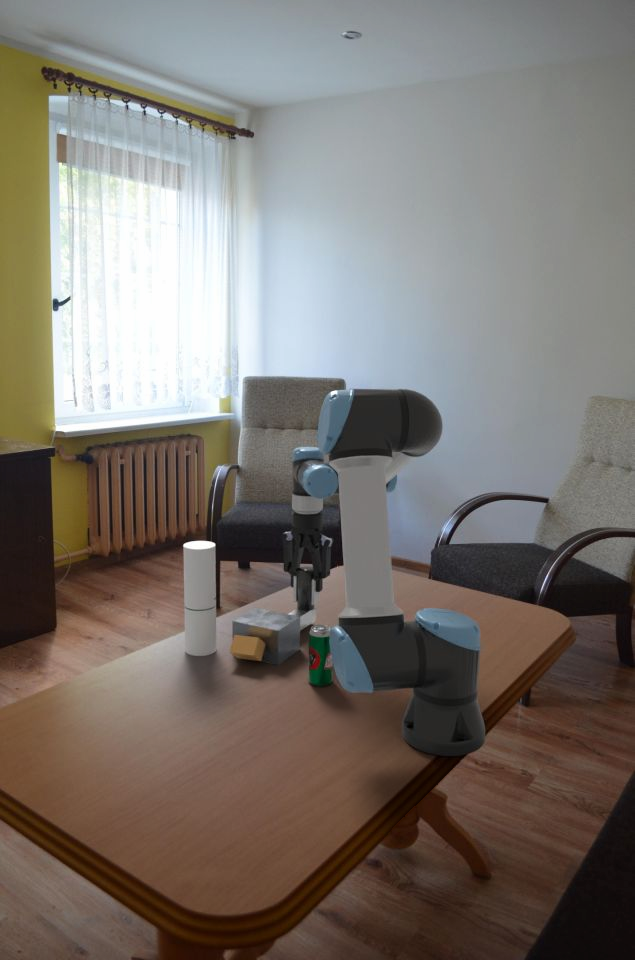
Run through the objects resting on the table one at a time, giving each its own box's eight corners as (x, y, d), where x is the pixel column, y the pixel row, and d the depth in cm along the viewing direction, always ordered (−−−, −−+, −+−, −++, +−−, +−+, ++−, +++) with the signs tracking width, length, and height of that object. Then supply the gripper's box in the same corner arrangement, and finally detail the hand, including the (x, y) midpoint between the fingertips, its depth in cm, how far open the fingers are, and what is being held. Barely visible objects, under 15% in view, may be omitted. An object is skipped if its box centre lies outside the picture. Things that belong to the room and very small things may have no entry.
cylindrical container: (219, 644, 187) (218, 541, 183) (212, 656, 180) (211, 550, 176) (189, 642, 188) (187, 540, 183) (181, 655, 181) (179, 548, 176)
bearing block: (278, 665, 176) (278, 630, 175) (232, 654, 182) (232, 621, 180) (299, 649, 185) (300, 616, 184) (255, 639, 191) (255, 607, 189)
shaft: (263, 657, 178) (263, 599, 175) (246, 653, 180) (246, 595, 177) (317, 620, 201) (318, 568, 198) (302, 617, 203) (302, 565, 200)
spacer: (261, 661, 175) (253, 655, 172) (237, 658, 177) (229, 652, 174) (265, 643, 177) (258, 637, 174) (241, 640, 179) (234, 634, 176)
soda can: (329, 688, 165) (330, 633, 163) (306, 685, 166) (306, 631, 164) (334, 678, 170) (335, 624, 168) (311, 675, 171) (311, 622, 169)
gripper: (346, 511, 194) (344, 603, 198) (283, 503, 202) (283, 592, 206) (332, 517, 188) (331, 612, 192) (268, 509, 195) (268, 600, 200)
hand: (306, 601), depth 199 cm, fingers closed on shaft, 4 cm apart
